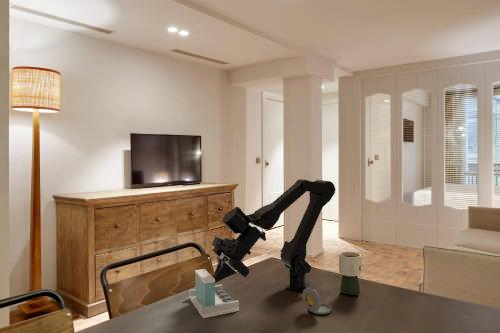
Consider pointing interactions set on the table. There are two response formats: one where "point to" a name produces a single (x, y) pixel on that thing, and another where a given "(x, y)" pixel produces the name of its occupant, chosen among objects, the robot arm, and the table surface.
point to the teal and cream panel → (205, 287)
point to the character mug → (350, 272)
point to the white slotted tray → (221, 303)
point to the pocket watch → (314, 301)
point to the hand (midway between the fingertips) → (212, 282)
